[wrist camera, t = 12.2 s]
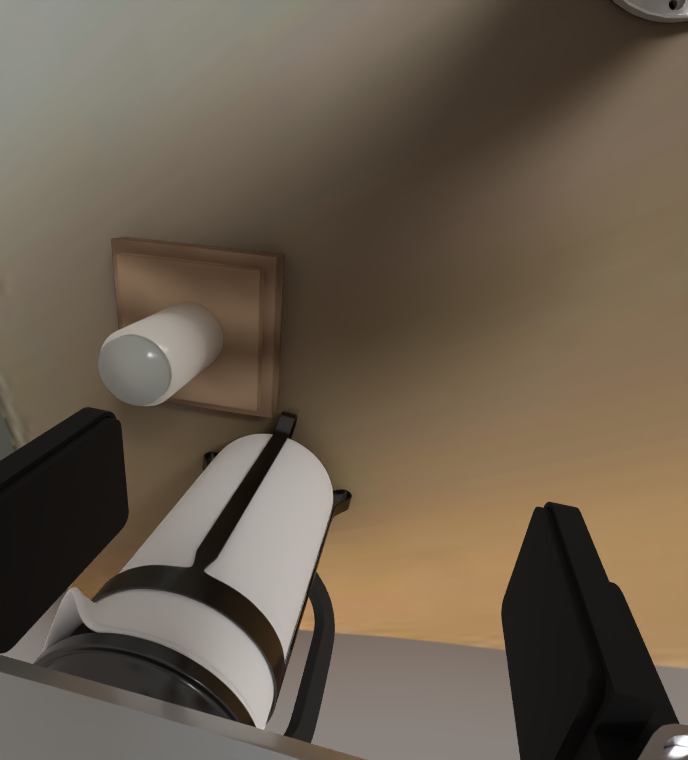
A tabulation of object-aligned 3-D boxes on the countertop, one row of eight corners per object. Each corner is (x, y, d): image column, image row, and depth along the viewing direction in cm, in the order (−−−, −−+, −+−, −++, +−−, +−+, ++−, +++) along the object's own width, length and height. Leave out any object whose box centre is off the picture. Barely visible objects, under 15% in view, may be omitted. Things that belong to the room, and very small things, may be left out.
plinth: (125, 236, 41) (103, 239, 38) (283, 254, 39) (272, 258, 36) (137, 387, 46) (118, 399, 43) (277, 409, 44) (267, 423, 41)
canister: (158, 297, 39) (88, 325, 31) (223, 307, 38) (169, 338, 30) (161, 361, 41) (96, 403, 33) (223, 371, 40) (172, 417, 32)
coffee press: (193, 517, 50) (-93, 902, 23) (222, 385, 44) (-121, 694, 17) (347, 574, 50) (246, 1044, 22) (399, 448, 44) (347, 881, 16)
